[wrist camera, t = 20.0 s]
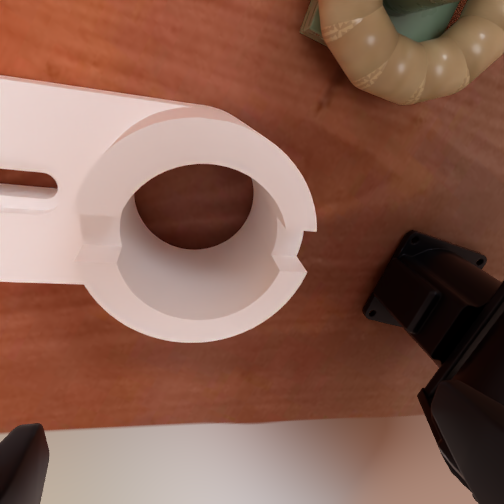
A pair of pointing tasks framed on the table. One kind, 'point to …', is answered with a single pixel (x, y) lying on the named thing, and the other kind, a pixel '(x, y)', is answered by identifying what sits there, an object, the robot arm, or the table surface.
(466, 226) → the table surface
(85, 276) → the bracket
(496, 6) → the segmented ring
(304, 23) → the stand
